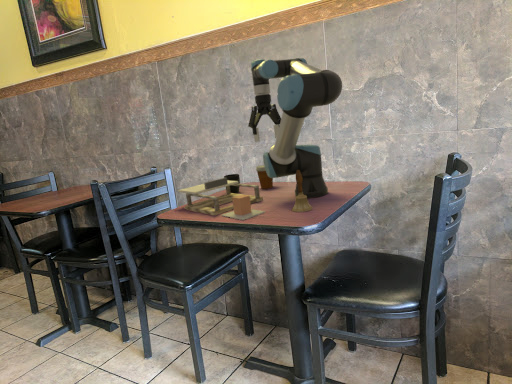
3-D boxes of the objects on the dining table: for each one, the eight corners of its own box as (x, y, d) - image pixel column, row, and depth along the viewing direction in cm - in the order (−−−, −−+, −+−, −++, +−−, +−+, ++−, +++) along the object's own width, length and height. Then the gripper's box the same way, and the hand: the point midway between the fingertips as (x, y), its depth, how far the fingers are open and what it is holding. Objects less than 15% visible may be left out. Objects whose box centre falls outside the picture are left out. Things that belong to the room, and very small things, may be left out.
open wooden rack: (263, 199, 173) (261, 184, 172) (214, 215, 156) (211, 198, 154) (232, 195, 191) (230, 182, 190) (185, 209, 174) (182, 194, 172)
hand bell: (311, 211, 143) (307, 171, 140) (290, 212, 145) (286, 172, 142) (314, 206, 151) (310, 167, 148) (293, 207, 153) (290, 169, 150)
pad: (265, 212, 150) (265, 211, 150) (242, 220, 143) (242, 219, 143) (243, 208, 161) (243, 207, 161) (221, 216, 153) (221, 214, 153)
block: (251, 212, 151) (249, 195, 150) (242, 215, 148) (239, 198, 147) (243, 210, 155) (241, 194, 154) (234, 213, 152) (232, 197, 150)
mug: (243, 189, 206) (241, 172, 204) (240, 193, 194) (237, 175, 193) (229, 190, 207) (226, 173, 205) (224, 195, 196) (222, 177, 194)
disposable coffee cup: (254, 189, 200) (252, 167, 198) (264, 185, 208) (262, 164, 206) (269, 189, 195) (266, 167, 192) (278, 185, 202) (276, 164, 200)
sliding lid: (238, 183, 182) (237, 175, 181) (195, 194, 166) (193, 185, 166) (220, 181, 193) (219, 174, 193) (178, 192, 178) (177, 184, 177)
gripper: (275, 94, 185) (280, 136, 190) (237, 97, 169) (243, 143, 174) (286, 92, 180) (290, 136, 184) (247, 95, 164) (253, 143, 168)
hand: (267, 139), depth 179 cm, fingers open, 13 cm apart
